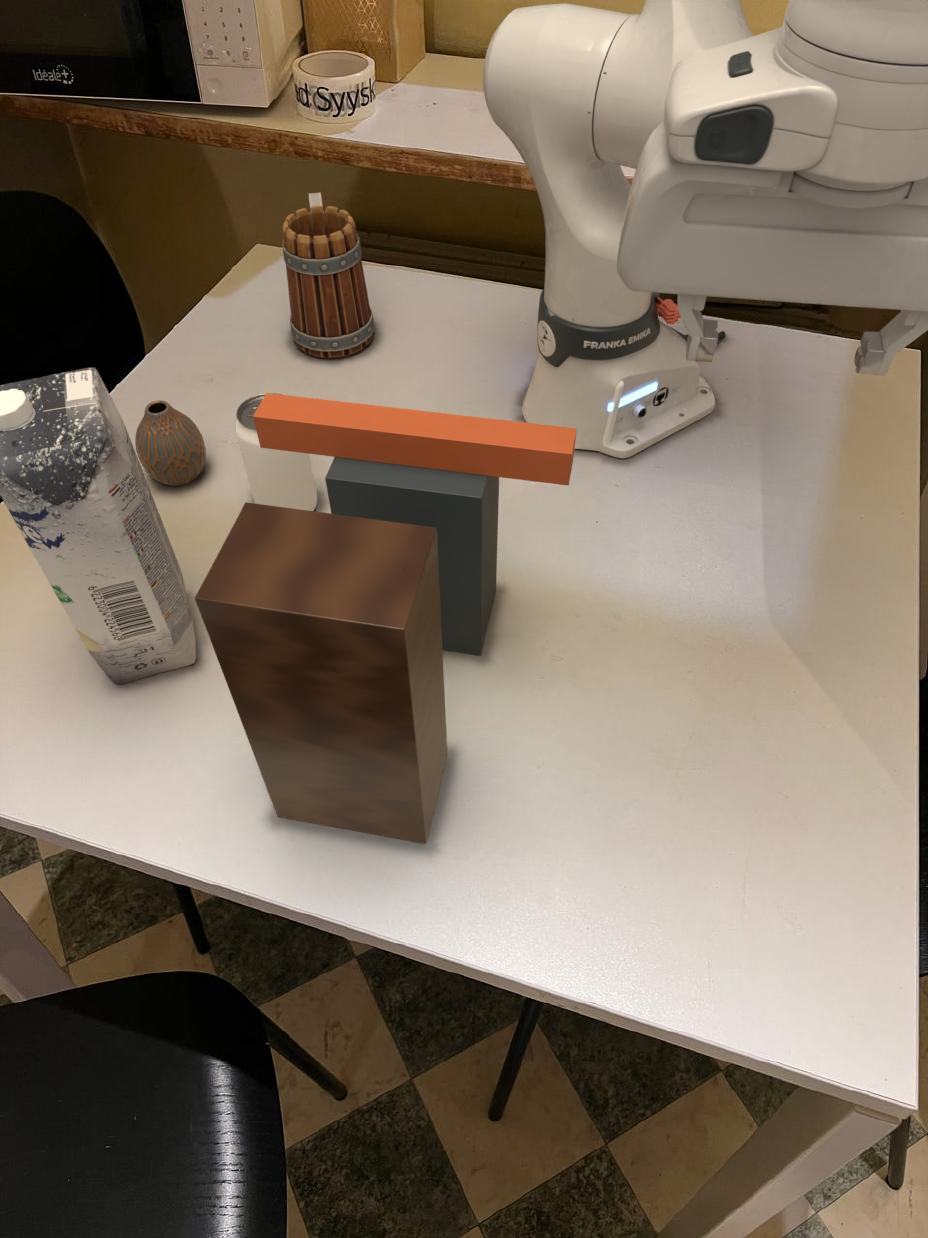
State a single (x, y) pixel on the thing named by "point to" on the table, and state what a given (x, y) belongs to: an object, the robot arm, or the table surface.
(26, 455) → the juice carton
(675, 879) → the table surface
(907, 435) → the table surface
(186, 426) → the vase
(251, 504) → the tall stand
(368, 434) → the rod
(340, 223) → the mug
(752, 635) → the table surface
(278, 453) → the can
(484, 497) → the lower stand
